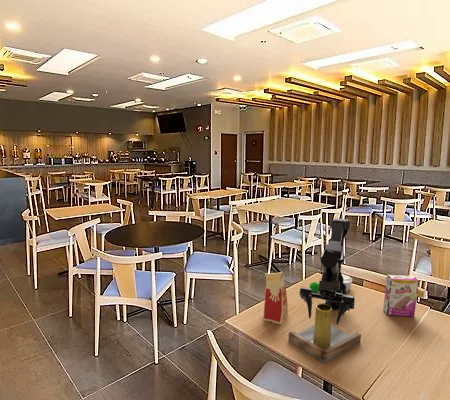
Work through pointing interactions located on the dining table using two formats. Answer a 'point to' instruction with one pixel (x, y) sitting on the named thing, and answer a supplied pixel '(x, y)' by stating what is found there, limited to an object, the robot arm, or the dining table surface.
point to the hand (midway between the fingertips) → (323, 321)
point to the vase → (322, 326)
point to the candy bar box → (400, 295)
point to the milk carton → (275, 298)
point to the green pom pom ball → (314, 287)
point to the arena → (338, 346)
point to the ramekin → (347, 281)
